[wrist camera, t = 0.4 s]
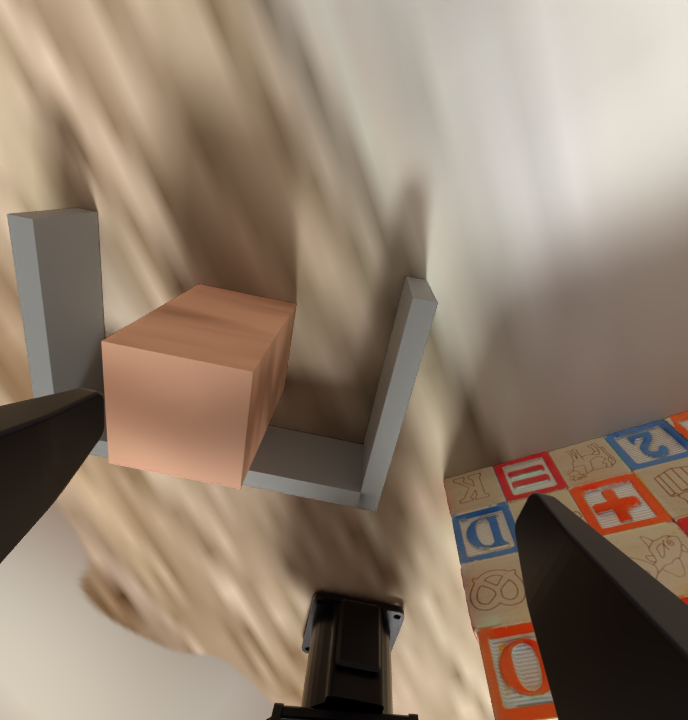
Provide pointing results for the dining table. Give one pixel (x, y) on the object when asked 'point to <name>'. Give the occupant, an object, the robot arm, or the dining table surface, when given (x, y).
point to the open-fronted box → (279, 446)
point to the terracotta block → (197, 384)
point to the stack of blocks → (593, 505)
